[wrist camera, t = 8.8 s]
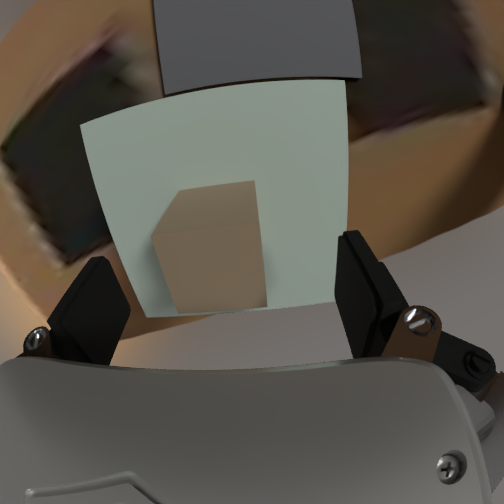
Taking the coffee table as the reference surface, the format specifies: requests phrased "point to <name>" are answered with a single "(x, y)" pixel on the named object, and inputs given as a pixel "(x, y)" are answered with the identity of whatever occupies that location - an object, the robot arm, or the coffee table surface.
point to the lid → (226, 195)
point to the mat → (254, 41)
